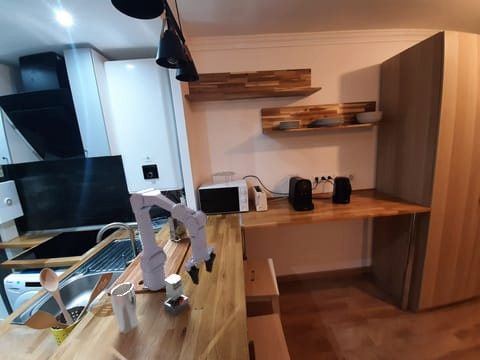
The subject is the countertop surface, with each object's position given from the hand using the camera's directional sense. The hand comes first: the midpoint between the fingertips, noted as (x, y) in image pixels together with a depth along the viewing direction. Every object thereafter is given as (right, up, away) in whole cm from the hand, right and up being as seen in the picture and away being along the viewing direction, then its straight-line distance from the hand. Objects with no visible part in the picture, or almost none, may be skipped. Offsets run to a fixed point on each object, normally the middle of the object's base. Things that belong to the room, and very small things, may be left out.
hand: (202, 277), depth 77 cm
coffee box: (-27, -3, +59) cm, 64 cm away
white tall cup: (-24, -14, -8) cm, 29 cm away
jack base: (-9, -12, -1) cm, 15 cm away
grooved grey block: (-10, -6, -2) cm, 12 cm away
